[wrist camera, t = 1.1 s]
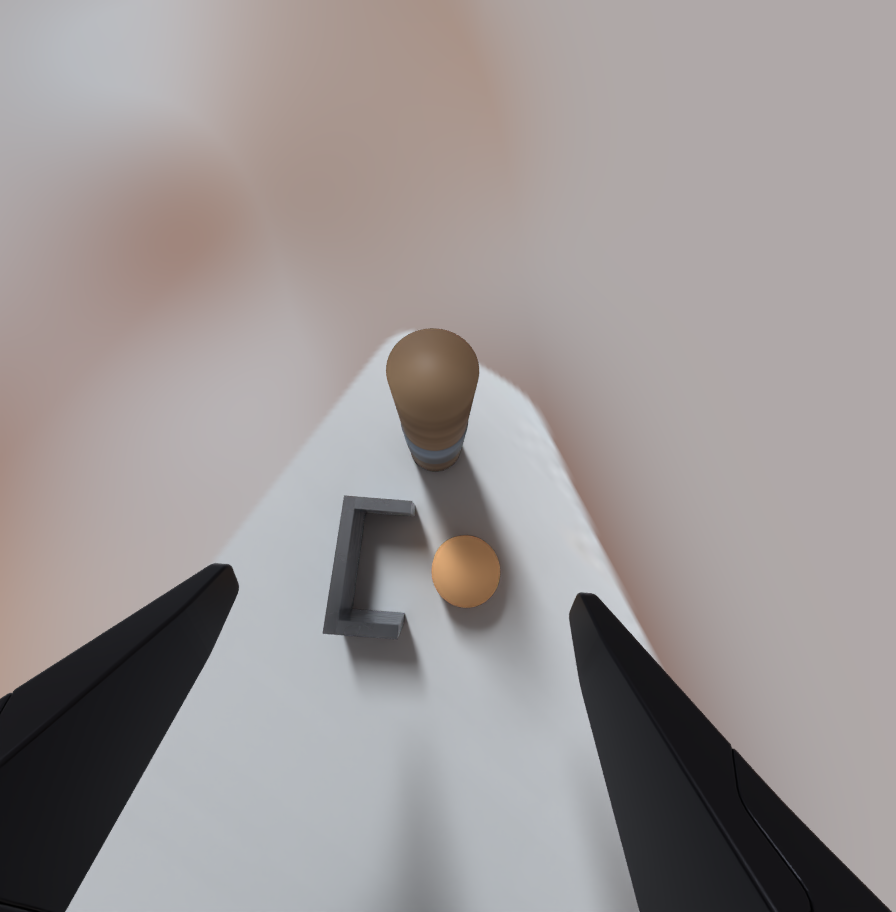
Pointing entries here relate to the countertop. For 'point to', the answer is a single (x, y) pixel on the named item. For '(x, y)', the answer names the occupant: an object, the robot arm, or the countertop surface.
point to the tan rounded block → (465, 571)
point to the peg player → (433, 393)
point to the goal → (345, 572)
